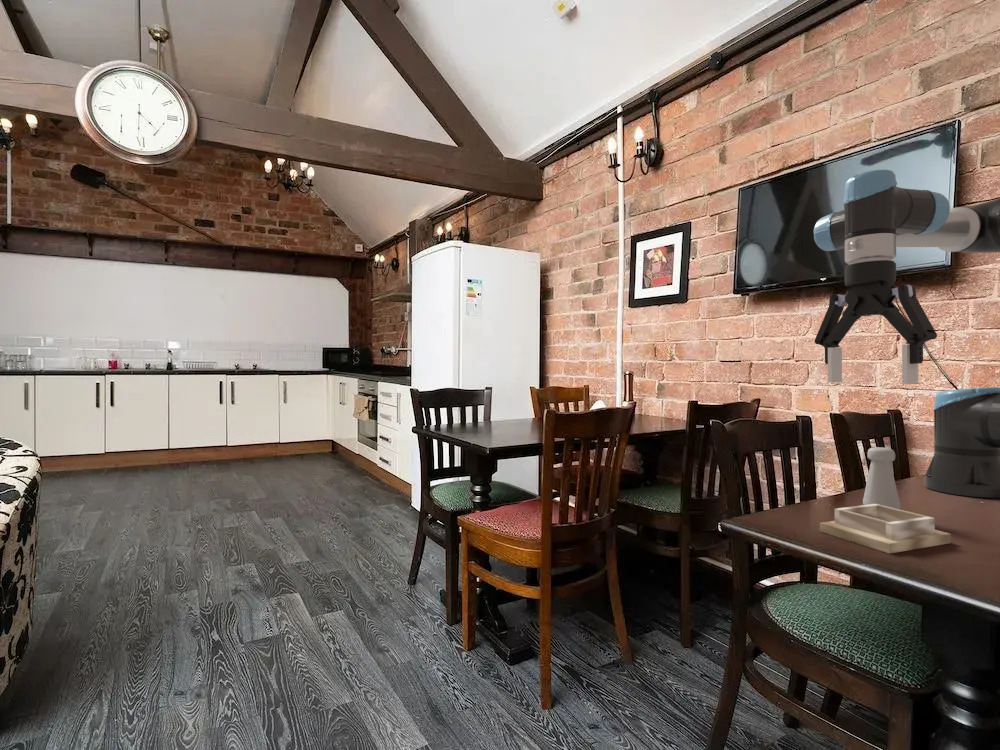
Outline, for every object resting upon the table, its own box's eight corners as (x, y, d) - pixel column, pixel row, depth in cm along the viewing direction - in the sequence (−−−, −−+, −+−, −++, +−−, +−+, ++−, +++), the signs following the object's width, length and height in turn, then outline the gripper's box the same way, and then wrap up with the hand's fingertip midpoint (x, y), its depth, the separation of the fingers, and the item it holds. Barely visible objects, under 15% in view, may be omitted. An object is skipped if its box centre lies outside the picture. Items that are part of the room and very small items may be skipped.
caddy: (877, 523, 99) (877, 501, 99) (950, 543, 88) (951, 518, 88) (819, 531, 94) (819, 508, 94) (888, 553, 83) (888, 527, 83)
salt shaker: (908, 520, 101) (908, 450, 101) (878, 520, 100) (878, 450, 100) (883, 511, 107) (883, 445, 106) (855, 512, 106) (855, 446, 106)
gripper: (793, 273, 106) (794, 381, 107) (931, 246, 83) (932, 385, 83) (822, 274, 109) (822, 380, 109) (964, 249, 85) (964, 384, 86)
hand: (870, 383), depth 96 cm, fingers open, 13 cm apart
